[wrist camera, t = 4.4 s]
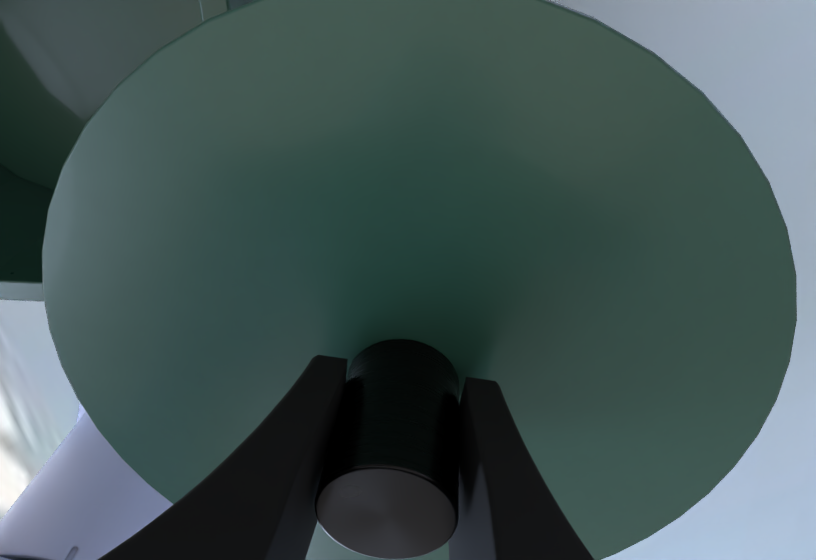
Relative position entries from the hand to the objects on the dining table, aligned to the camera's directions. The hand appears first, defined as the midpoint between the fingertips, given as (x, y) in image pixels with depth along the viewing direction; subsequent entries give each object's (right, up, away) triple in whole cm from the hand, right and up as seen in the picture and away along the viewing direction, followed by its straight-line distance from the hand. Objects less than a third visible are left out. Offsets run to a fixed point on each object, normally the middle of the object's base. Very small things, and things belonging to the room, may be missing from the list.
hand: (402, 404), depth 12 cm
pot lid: (0, +1, +1) cm, 1 cm away
